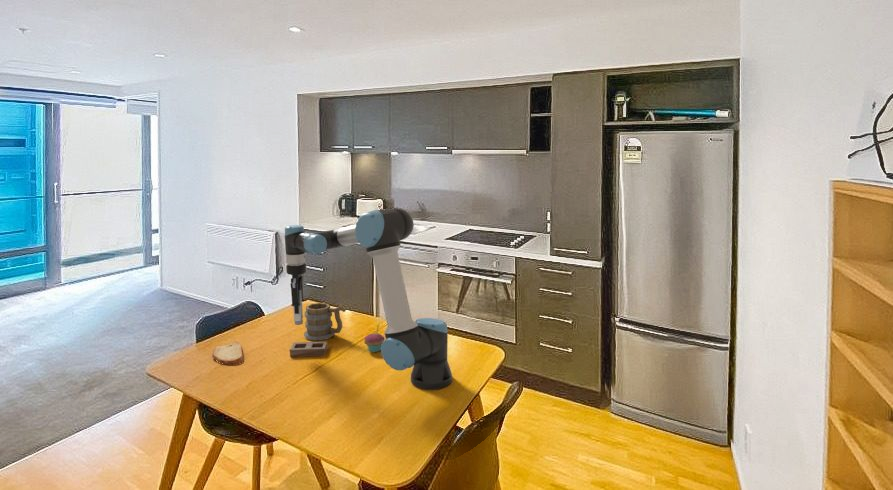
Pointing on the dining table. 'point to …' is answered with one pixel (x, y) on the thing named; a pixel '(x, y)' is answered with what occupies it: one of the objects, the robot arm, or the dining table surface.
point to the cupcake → (374, 341)
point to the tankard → (321, 321)
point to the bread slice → (229, 353)
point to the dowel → (301, 312)
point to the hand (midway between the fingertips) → (298, 318)
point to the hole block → (308, 349)
